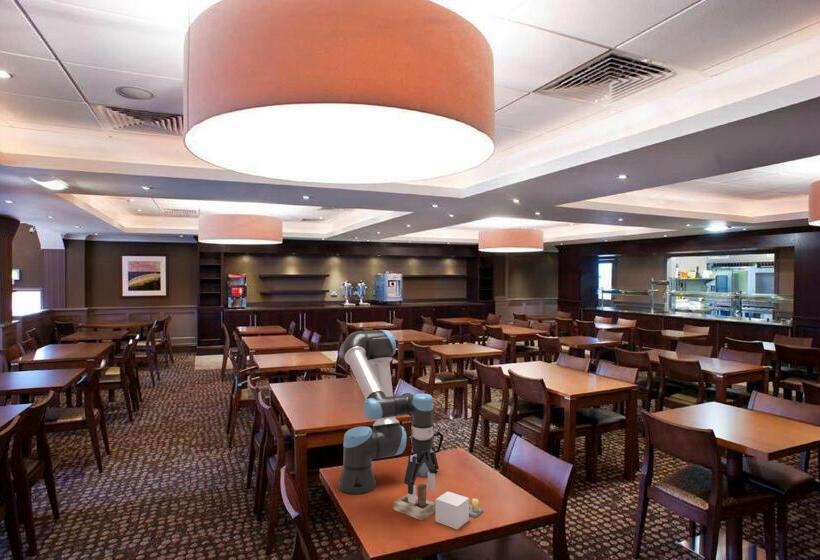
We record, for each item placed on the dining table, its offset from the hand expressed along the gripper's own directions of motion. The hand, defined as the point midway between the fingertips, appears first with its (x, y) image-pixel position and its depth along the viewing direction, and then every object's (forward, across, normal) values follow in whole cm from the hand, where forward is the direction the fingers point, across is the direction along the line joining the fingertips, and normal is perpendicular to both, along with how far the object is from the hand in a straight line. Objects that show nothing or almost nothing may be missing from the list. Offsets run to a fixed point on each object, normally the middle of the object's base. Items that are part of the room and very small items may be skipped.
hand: (421, 496), depth 177 cm
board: (+6, +12, -14) cm, 19 cm away
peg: (+6, 0, 0) cm, 6 cm away
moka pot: (+6, +31, +20) cm, 37 cm away
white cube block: (+6, +2, -12) cm, 14 cm away
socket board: (+6, 0, +3) cm, 7 cm away
